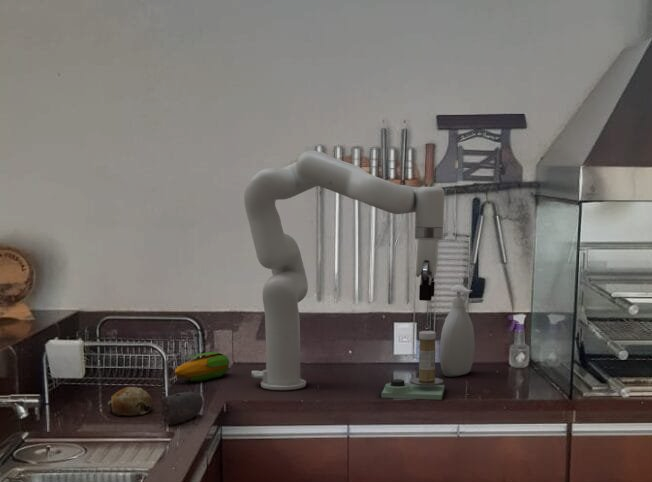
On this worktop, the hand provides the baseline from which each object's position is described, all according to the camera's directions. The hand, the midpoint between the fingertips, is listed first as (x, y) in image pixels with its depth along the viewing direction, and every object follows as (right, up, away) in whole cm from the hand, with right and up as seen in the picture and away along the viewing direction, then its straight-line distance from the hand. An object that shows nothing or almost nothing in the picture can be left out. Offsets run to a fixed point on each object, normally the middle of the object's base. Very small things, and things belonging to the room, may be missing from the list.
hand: (426, 298), depth 241 cm
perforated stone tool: (-59, -31, -27) cm, 72 cm away
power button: (-8, -24, 0) cm, 25 cm away
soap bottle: (+11, -22, +29) cm, 37 cm away
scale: (-3, -26, +3) cm, 26 cm away
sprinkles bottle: (0, -22, +4) cm, 23 cm away
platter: (0, -23, +4) cm, 23 cm away
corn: (-64, -23, +19) cm, 71 cm away
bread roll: (-74, -29, -19) cm, 82 cm away
